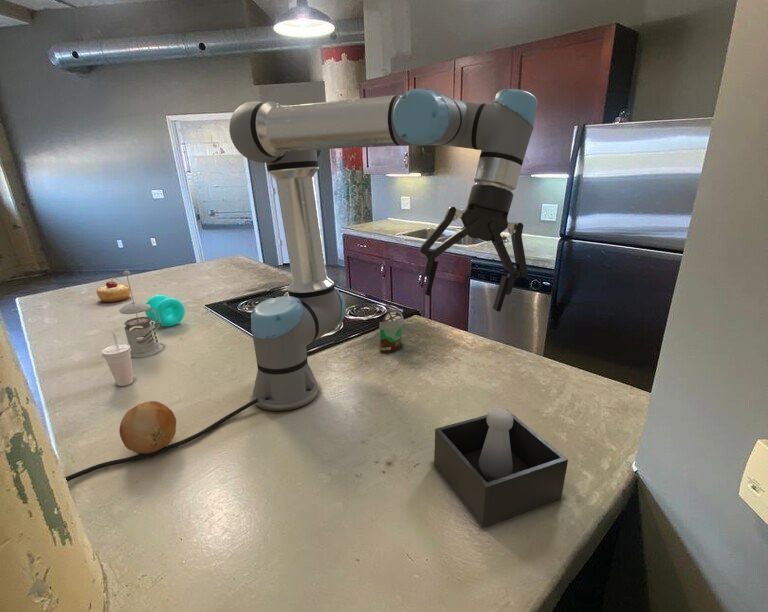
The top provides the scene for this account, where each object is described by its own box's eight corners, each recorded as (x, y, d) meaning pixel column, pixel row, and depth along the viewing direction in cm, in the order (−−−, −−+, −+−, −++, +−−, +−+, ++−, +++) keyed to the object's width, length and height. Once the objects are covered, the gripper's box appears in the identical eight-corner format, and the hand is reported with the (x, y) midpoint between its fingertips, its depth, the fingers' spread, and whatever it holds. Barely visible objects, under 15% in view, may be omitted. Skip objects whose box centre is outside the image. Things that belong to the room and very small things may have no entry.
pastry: (92, 303, 172) (86, 282, 168) (113, 294, 182) (108, 274, 179) (117, 304, 170) (112, 283, 166) (138, 295, 180) (133, 275, 177)
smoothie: (144, 379, 110) (132, 330, 105) (121, 390, 105) (107, 339, 100) (128, 374, 113) (115, 326, 108) (105, 385, 107) (90, 335, 102)
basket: (482, 528, 64) (485, 487, 61) (433, 464, 77) (434, 428, 74) (561, 498, 69) (568, 459, 66) (503, 443, 83) (506, 409, 80)
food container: (400, 356, 120) (400, 324, 117) (379, 354, 121) (379, 322, 118) (406, 339, 132) (407, 309, 128) (387, 337, 133) (387, 308, 129)
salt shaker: (473, 465, 75) (478, 403, 71) (504, 463, 76) (511, 401, 71) (483, 489, 70) (489, 424, 65) (516, 486, 70) (524, 421, 66)
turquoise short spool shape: (173, 316, 155) (168, 290, 151) (188, 321, 149) (183, 295, 146) (146, 324, 147) (140, 298, 144) (161, 330, 142) (154, 303, 138)
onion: (144, 471, 77) (131, 426, 73) (116, 453, 82) (102, 410, 78) (191, 442, 85) (181, 400, 81) (162, 427, 90) (152, 387, 86)
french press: (119, 354, 125) (97, 273, 116) (152, 339, 135) (134, 264, 126) (142, 359, 121) (121, 276, 112) (175, 344, 131) (158, 266, 122)
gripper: (552, 204, 78) (518, 312, 83) (423, 173, 77) (397, 284, 82) (569, 202, 71) (531, 320, 76) (427, 168, 70) (398, 290, 74)
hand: (461, 302), depth 79 cm, fingers open, 13 cm apart
